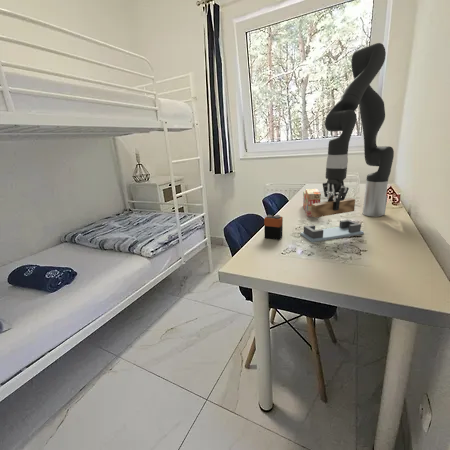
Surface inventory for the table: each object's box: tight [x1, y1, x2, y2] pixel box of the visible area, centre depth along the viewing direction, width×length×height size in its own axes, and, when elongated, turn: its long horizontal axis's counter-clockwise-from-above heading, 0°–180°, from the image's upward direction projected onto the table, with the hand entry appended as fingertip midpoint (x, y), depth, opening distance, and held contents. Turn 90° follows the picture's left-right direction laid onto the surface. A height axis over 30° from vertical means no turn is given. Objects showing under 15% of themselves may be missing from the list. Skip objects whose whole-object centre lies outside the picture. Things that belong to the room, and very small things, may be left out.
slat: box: [310, 197, 356, 218], centre depth 104 cm, size 18×3×5 cm, turn 103°
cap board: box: [300, 219, 364, 243], centre depth 107 cm, size 24×9×4 cm, turn 103°
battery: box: [263, 214, 284, 241], centre depth 106 cm, size 4×7×10 cm, turn 63°
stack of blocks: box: [302, 188, 322, 217], centre depth 140 cm, size 21×6×12 cm, turn 169°
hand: (332, 208), depth 104 cm, fingers closed on slat, 3 cm apart
